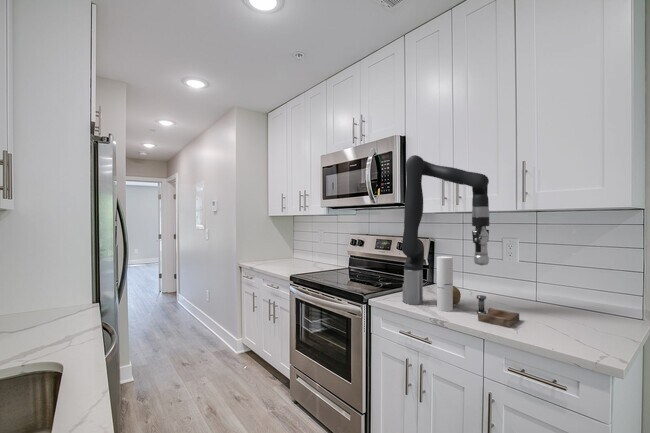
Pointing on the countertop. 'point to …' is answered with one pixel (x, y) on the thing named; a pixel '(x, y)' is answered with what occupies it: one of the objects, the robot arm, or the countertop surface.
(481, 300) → the bobbin post
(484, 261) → the plastic bottle
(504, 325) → the wooden tray
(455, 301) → the natural sponge
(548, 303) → the countertop surface
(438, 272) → the cylindrical container
